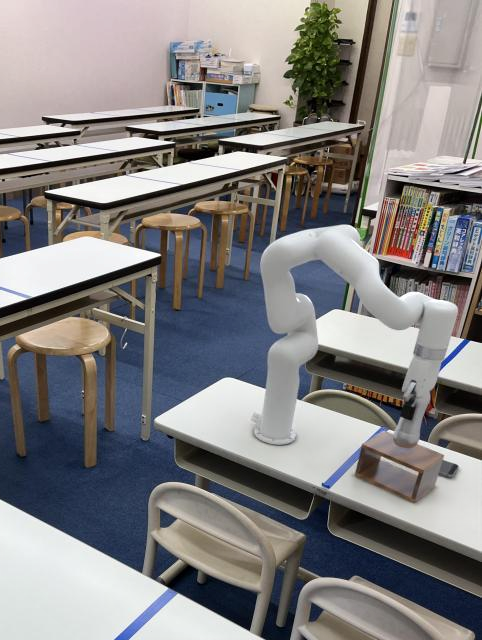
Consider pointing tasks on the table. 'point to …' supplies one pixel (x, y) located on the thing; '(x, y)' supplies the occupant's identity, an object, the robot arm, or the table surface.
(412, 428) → the plastic bottle
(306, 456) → the table surface
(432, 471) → the shelf rack
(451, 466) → the phone
